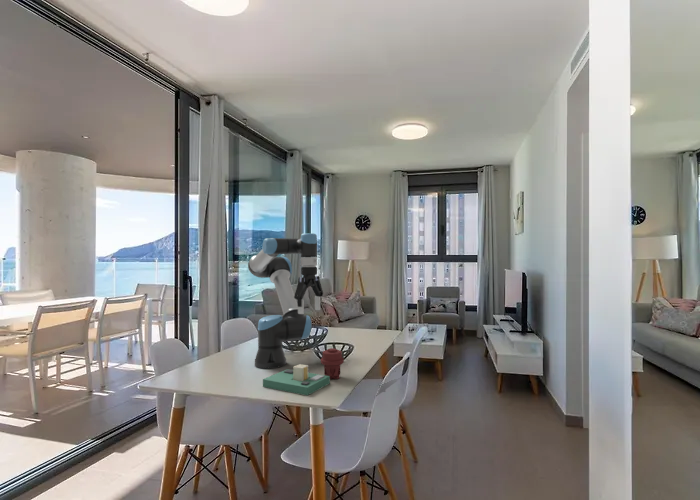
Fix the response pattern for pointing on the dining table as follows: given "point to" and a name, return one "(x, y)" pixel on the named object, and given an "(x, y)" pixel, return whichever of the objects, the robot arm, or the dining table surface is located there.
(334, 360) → the mechanical component
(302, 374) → the plug
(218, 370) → the dining table surface
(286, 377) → the board
